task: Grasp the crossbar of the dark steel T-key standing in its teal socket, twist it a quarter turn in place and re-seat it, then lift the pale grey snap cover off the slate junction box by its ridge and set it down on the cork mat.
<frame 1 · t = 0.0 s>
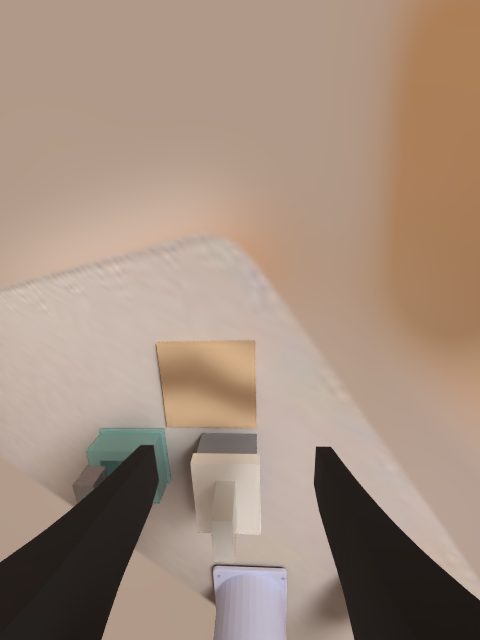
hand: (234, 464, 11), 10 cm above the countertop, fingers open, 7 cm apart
cork mat: (209, 384, 21), on the countertop
junction box: (230, 464, 24), on the countertop
key socket: (136, 454, 24), on the countertop
t key: (129, 426, 23), resting on key socket
cover: (228, 489, 21), point 2 cm above the countertop, touching junction box
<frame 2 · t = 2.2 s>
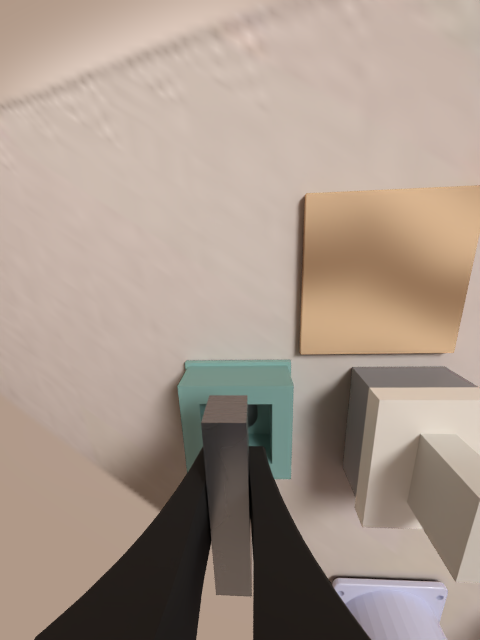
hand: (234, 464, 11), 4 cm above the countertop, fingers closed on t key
cork mat: (381, 277, 13), on the countertop
junction box: (389, 420, 15), on the countertop
key socket: (239, 405, 15), on the countertop
t key: (236, 354, 14), resting on key socket, touching gripper
cover: (416, 453, 12), point 2 cm above the countertop, touching junction box
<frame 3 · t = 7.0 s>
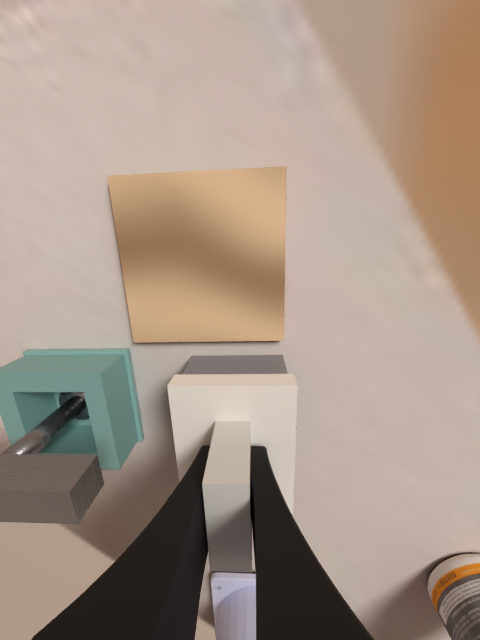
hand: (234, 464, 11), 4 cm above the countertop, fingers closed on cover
cork mat: (203, 263, 12), on the countertop
junction box: (238, 410, 15), on the countertop
key socket: (88, 395, 15), on the countertop
t key: (27, 398, 15), resting on key socket
cover: (236, 442, 12), point 2 cm above the countertop, touching gripper, junction box
pill bottle: (463, 573, 18), on the countertop
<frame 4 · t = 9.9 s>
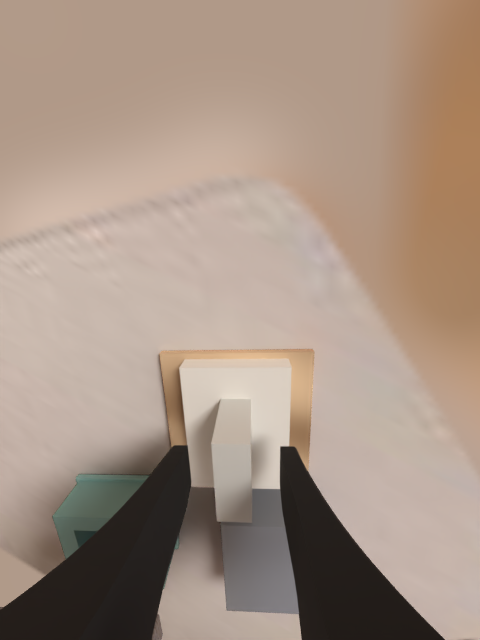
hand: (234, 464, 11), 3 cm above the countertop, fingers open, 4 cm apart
cork mat: (238, 414, 14), on the countertop
junction box: (265, 525, 16), on the countertop
key socket: (131, 510, 17), on the countertop
cover: (238, 419, 14), resting on cork mat
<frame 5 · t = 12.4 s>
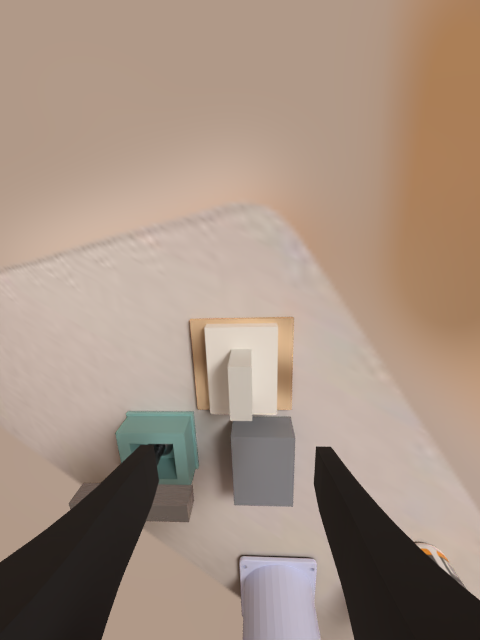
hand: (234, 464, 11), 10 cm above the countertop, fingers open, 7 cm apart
cork mat: (242, 364, 20), on the countertop
junction box: (262, 449, 23), on the countertop
key socket: (164, 439, 23), on the countertop
t key: (124, 441, 23), resting on key socket
cover: (242, 367, 20), resting on cork mat
pill bottle: (413, 556, 26), on the countertop
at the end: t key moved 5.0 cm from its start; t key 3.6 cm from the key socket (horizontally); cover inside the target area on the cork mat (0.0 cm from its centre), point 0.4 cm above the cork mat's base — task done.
